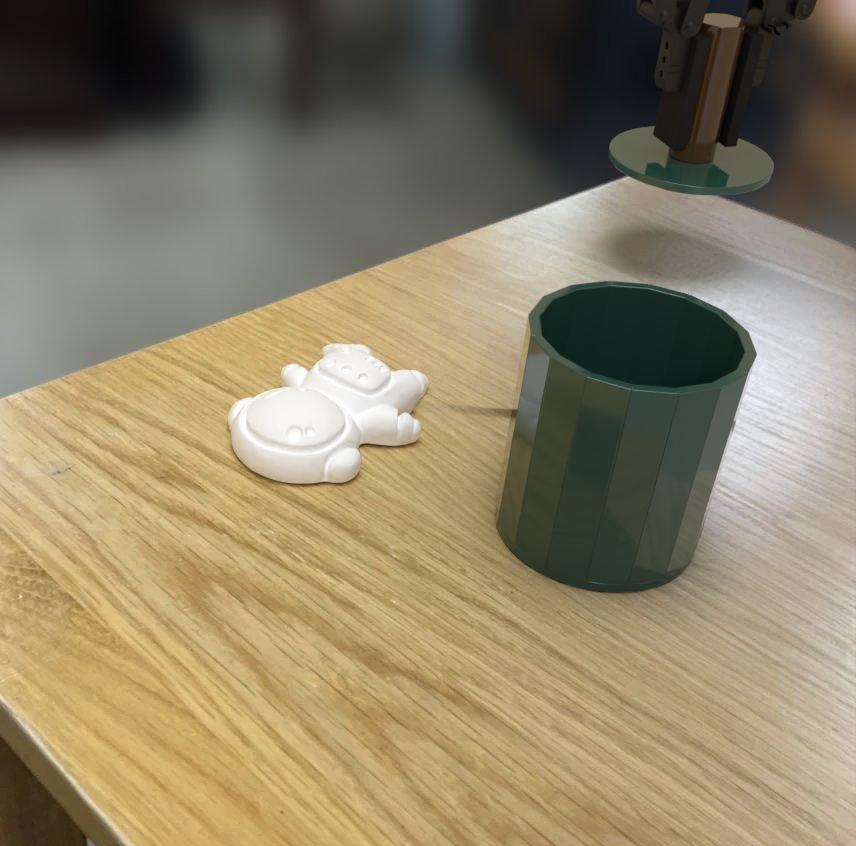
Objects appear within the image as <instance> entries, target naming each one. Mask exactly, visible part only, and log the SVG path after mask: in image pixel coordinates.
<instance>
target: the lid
mask: <svg viewBox="0 0 856 846" xmlns="http://www.w3.org/2000/svg"><path fill="white" fill-rule="evenodd" d="M746 26H747V22H746V20H745V19H743V18H742V17H739V16H736V15H732V14H727V13H719V12H717V13H715V12H710V13H706V14H705V17H704V20H703V23H702V26H701V28H700V30H699V33H702V34H703V35H705V36H706V37H708V38H710V44H709V48H708V53H707V57H706V61H705V66H704V70H703V74H702V79H701V83H700V87H699V92H698V96H697V101H696V105H695V109H694V114H693V118H692V122H691V127H690V131H689V135H688V140H687V144H686V149H685V150H682V151H673V150H672V149H671V148H669V147H668V146H667V145H665V144H664V143H663V142H662V141H660V140H659V139H658V138H657V137H655V136H654V135H653V132H654V128H655V125H652V126H643V127H642V126H641V127H638V128H633V129H629V130H626V131H623V132H621V133H619V134H617V135H616V136H615V137H613V138H612V139H611V141H610V143H609V147H608V151H607V155H608V160H609V162H610V163H611V164H612V166H613V167H615V169H617V170H618V171H619V172H621V173H622V174H623V175H626V176H627V177H629V178H631V179H634V180H635V181H637V182H639V183H643V184H646V185H648V186H652V187H655V188H657V189H661V190H665V191H668V192H673V193H678V194H684V195H691V196H692V195H694V196H731V195H732V196H733V195H741V194H745V193H749V192H754V191H756V190H759V189H761V188H762V187H764V186H766V185H768V183H769V182H770V181H771V180H772V177H773V174H774V170H775V164H774V160H772V158H771V156H770V155H768V153H767V152H765V150H763V149H762V148H760V147H758V146H757V145H755V144H753V143H751V142H749V141H747V140H744V139H742V138H739V137H738V141H737V145H736V146H735V147H724V146H723V145H722V144H720V143H719V142H718V140H719V136H720V132H721V128H722V124H723V120H724V116H725V112H726V108H727V104H728V99H729V95H730V91H731V87H732V83H733V79H734V75H735V71H736V67H737V63H738V59H739V54H740V50H741V46H742V42H743V38H744V34H745V30H746Z"/></svg>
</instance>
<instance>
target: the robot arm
mask: <svg viewBox="0 0 856 846" xmlns="http://www.w3.org/2000/svg"><path fill="white" fill-rule="evenodd" d="M817 1H818V0H744V3H743V10H742V15H743V18H744V20H745V21H746V22H747V26H746V30H745V34H744V38H743V42H742V46H741V50H740V54H739V59H738V63H737V67H736V71H735V75H734V79H733V83H732V87H731V91H730V95H729V99H728V104H727V108H726V112H725V116H724V120H723V124H722V128H721V132H720V136H719V140H718V142H719V143H720V144H722V145H723V146H724V147H735V146H736V145H737V141H738V138H739V137H740V133H741V131H742V129H741V128H742V125H743V122H744V118H745V114H746V110H747V106H748V102H749V99H750V98H749V97H750V94H751V90H752V87H759V86H760V85H761V84H762V81H763V80H764V78H765V74H766V70H767V67H768V63H769V61H768V60H769V59H770V55H771V51H772V47H773V44H774V41H775V38H782V37H784V36H785V35H787V34H788V33H789V31H790V29H791V26H792V24H791V23H790V22H792V21H794V20H799V21H806V19H809V18H810V17H811V15H812V14H813V12H814V10H815V6H816V4H817ZM710 3H711V0H636V3H635V10H636V11H637V13H638V14H639V15H641V16H642V17H644V18H645V19H647V20H648V21H650V22H652V23H653V24H655V25H657V26H658V27H660V28H661V29H662V36H661V41H660V46H659V51H658V56H657V61H656V66H655V69H654V70H655V71H654V74H653V76H654V83H655V85H656V86H657V87H659V88H660V89H662V91H661V95H660V99H659V105H658V109H657V115H656V117H655V118H656V119H655V123H654V126H655V128H654V132H653V135H654V136H655V137H657V138H658V139H659V140H660V141H662V142H663V143H664V144H665V145H667V146H668V147H669V148H671V149H672V150H673V151H682V150H685V149H686V144H687V140H688V135H689V131H690V127H691V122H692V118H693V114H694V109H695V105H696V101H697V96H698V92H699V87H700V83H701V79H702V74H703V70H704V66H705V61H706V57H707V53H708V48H709V44H710V38H708V37H706V36H705V35H703V34H702V33H699V30H700V28H701V26H702V23H703V20H704V17H705V14H707V11H708V8H709V5H710Z"/></svg>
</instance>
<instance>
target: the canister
mask: <svg viewBox="0 0 856 846" xmlns="http://www.w3.org/2000/svg"><path fill="white" fill-rule="evenodd" d="M751 337H752V336H751V335H750V332H749V331H748V330H747V329H746V328H745V326H743V325H742V324H741V323H739V322H738V321H737V320H736V319H734V317H732V316H731V315H730V314H729V313H728V312H726V311H725V310H724V309H722V308H719V307H718V306H716V305H713V304H711V303H709V302H707V301H705V300H702V299H701V298H698V297H697V296H694V295H692V294H689V293H685V292H681V291H678V290H673V289H670V288H667V287H662V286H658V285H655V284H651V283H650V284H649V283H644V282H643V283H642V282H629V281H617V280H616V281H615V280H602V281H594V282H585V283H577V284H571V285H567V286H565V287H562V288H560V289H557V290H555V291H553V292H551V293H547V294H545V295H543V296H541V298H540V299H539V301H538V302H537V303H536V305H534V307H533V308H532V309H531V310H530V312H528V316H527V320H526V326H525V332H524V338H523V343H522V350H521V355H520V361H519V367H518V372H517V378H516V384H515V390H514V395H513V400H512V401H513V402H512V406H511V414H510V418H509V424H508V430H507V436H506V442H505V448H504V453H503V459H502V465H501V471H500V477H499V483H498V489H497V494H496V509H495V522H496V527H497V530H498V533H499V535H500V537H501V539H502V541H503V543H504V544H505V545H506V546H507V548H508V549H509V550H510V552H511V553H513V555H515V556H516V558H518V559H519V560H520V561H522V562H523V563H524V564H525V565H526V566H528V567H530V568H531V569H533V570H535V571H536V572H538V573H540V574H541V575H543V576H545V577H547V578H550V579H552V580H554V581H557V582H559V583H562V584H565V585H568V586H570V587H575V588H579V589H584V590H587V591H595V592H602V593H633V592H641V591H646V590H650V589H654V588H657V587H660V586H663V585H665V584H668V582H670V581H672V580H674V579H676V578H677V577H678V576H680V575H681V574H682V573H683V572H684V571H686V569H687V568H688V567H689V565H690V563H691V561H692V560H693V557H694V554H695V551H696V549H697V546H698V543H699V542H700V539H701V537H702V532H703V529H704V526H705V523H706V519H707V517H708V514H709V511H710V507H711V504H712V500H713V497H714V494H715V491H716V488H717V484H718V483H719V478H720V475H721V472H722V468H723V466H724V462H725V459H726V455H727V452H728V449H729V446H730V442H731V439H732V437H733V434H734V430H735V427H736V423H737V421H738V418H739V414H740V411H741V408H742V405H743V401H744V399H745V396H746V395H745V394H746V391H747V388H748V386H749V381H750V378H751V375H752V372H753V370H754V366H755V362H756V359H757V355H758V352H757V350H756V348H755V345H754V343H753V340H752V338H751Z"/></svg>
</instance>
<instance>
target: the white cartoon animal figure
mask: <svg viewBox="0 0 856 846" xmlns="http://www.w3.org/2000/svg"><path fill="white" fill-rule="evenodd" d="M321 354H322V358H320V360H318V361H317V362H316V363H315V364H313V366H312V367H311V369H309V370H307V368H305V367H304V366H300V365H299V364H297V363H289V364H286V365H285V366H283V367H282V368H281V371H280V384H281V387H276V388H272V389H269V390H267V391H264V392H260V393H259V394H257V395H255V396H254V397H251V396H249V397H244V398H241V399H240V400H237V401H236V402H235V403H233V404H232V406H231V408H230V409H229V411H228V415H227V424H228V429H229V431H230V439H231V440H230V441H231V447H232V449H233V452H234V454H235V455H236V457H237V458H238V459H239V460H240V462H242V464H244V465H245V466H246V467H247V468H248V469H249V470H251V471H252V472H254V473H256V474H257V475H260V476H262V477H265V478H267V479H270V480H273V481H277V482H281V483H289V484H317V483H324V482H326V483H334V484H342V483H346V482H349V481H351V480H354V478H355V477H356V476H357V475H358V474H359V471H360V470H361V466H362V454H361V452H360V451H359V447H360V446H361V445H363V444H370V445H379V446H390V447H399V446H405V445H409V444H413V443H415V442H416V441H418V440H419V438H420V437H421V433H422V426H421V423H420V421H419V420H418V419H416V418H414V417H413V415H412V414H411V413H412V412H413V410H414V409H415V408H417V407H418V406H419V405H420V404H421V399H422V397H424V395H426V392H427V390H428V388H429V385H430V382H429V378H428V377H427V375H425V374H424V373H423V372H421V371H419V370H416V369H410V370H409V369H405V368H404V369H398V370H391V369H390V367H389V366H388V365H387V364H386V363H384V362H383V361H382V360H380V359H378V358H377V357H376V356H374V354H373V351H372V350H371V348H369V347H368V346H366V345H364V344H362V343H361V344H360V343H357V344H355V343H348V344H347V343H338V342H337V343H335V342H334V343H329V344H327V345H325V346H323V347H322V348H321Z"/></svg>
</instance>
